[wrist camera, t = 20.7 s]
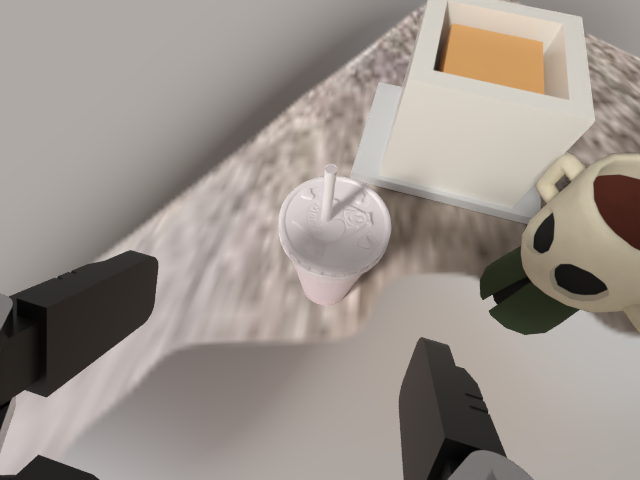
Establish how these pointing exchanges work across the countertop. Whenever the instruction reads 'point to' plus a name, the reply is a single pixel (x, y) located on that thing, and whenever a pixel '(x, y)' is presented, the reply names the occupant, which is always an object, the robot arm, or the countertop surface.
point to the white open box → (478, 115)
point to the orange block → (493, 58)
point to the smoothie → (333, 233)
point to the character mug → (574, 249)
